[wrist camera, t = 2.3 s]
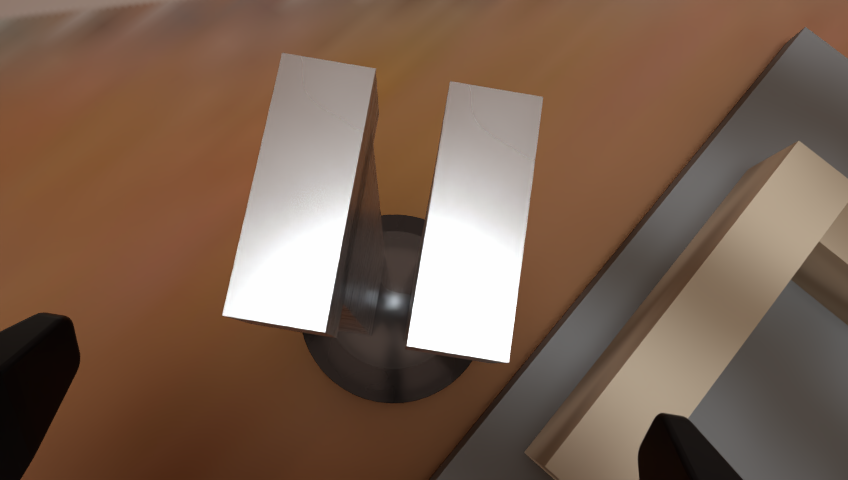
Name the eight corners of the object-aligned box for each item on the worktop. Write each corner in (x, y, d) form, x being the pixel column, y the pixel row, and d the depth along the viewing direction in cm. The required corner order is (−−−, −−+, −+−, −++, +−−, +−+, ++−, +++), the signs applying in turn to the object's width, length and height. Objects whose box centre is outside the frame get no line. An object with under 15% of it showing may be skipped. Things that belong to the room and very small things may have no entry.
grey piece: (489, 244, 20) (663, 15, 7) (466, 412, 18) (618, 513, 6) (327, 217, 19) (196, -64, 7) (294, 384, 18) (64, 423, 6)
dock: (758, 945, 16) (856, 1102, 13) (359, 564, 17) (349, 613, 14) (1137, 308, 20) (1290, 296, 17) (786, 42, 21) (861, -20, 18)
